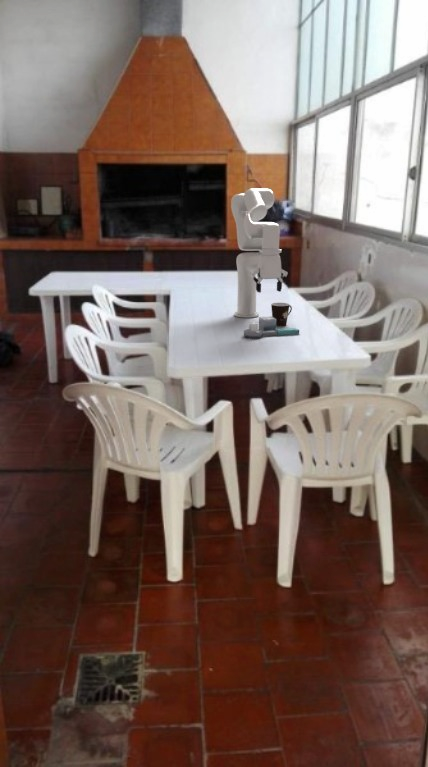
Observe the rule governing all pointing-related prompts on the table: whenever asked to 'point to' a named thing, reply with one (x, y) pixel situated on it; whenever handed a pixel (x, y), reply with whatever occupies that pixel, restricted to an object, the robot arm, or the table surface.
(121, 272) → the table surface
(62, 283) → the table surface
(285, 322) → the coffee mug
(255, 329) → the ratchet
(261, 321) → the brushed metal cube
